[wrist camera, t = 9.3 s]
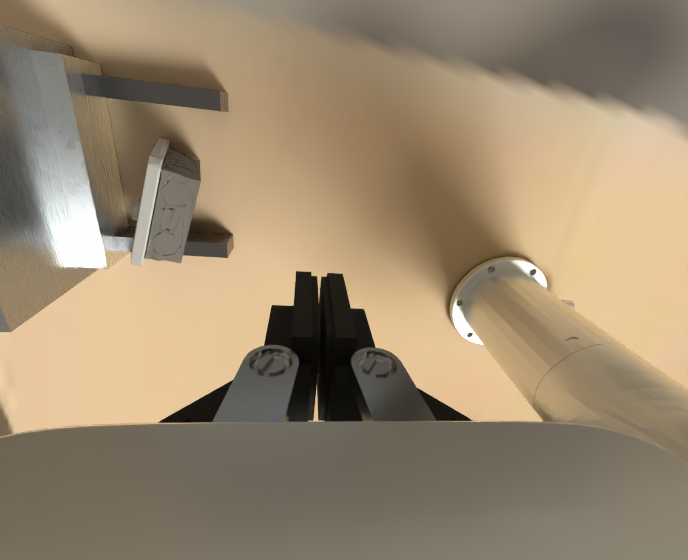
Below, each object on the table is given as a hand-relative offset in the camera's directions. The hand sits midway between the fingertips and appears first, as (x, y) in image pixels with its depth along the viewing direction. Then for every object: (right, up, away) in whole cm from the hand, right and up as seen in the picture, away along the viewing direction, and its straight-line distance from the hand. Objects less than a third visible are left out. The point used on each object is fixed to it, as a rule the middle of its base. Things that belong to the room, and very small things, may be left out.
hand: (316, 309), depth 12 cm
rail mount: (-16, +12, +21) cm, 29 cm away
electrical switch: (-16, +10, +22) cm, 28 cm away
